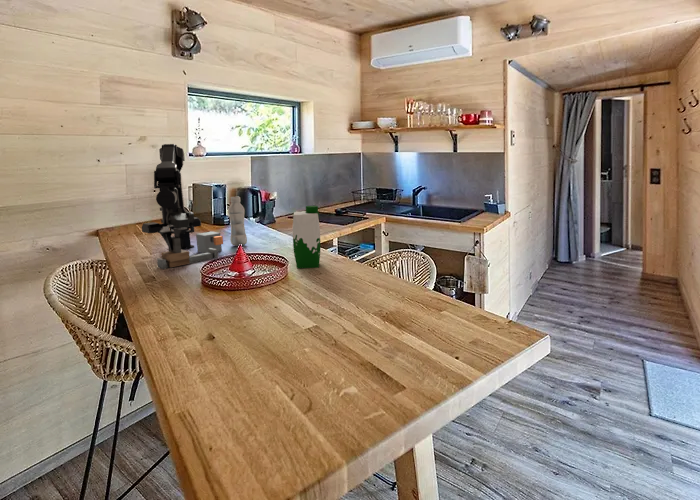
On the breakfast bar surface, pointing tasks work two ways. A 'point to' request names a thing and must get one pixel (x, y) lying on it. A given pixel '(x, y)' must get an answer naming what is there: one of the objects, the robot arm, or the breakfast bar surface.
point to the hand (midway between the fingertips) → (174, 249)
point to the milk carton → (306, 238)
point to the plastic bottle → (237, 222)
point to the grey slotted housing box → (207, 242)
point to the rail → (194, 258)
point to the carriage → (176, 254)
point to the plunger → (217, 240)
